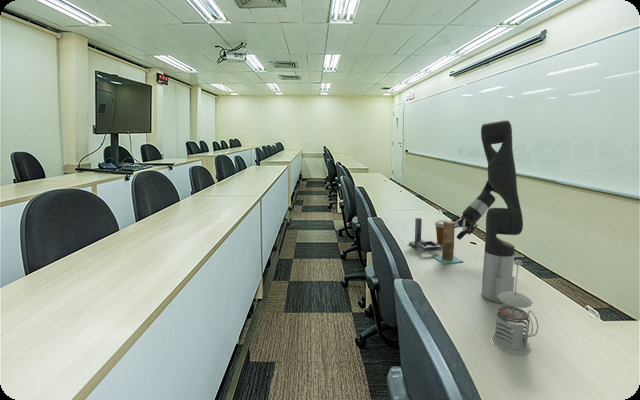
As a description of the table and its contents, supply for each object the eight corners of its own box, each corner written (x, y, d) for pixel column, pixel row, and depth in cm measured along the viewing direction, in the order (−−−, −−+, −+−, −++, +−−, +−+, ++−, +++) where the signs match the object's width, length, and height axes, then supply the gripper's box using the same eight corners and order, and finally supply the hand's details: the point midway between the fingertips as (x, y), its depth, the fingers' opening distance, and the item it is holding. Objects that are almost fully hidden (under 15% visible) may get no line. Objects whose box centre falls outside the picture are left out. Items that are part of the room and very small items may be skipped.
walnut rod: (455, 259, 147) (457, 223, 144) (445, 260, 146) (447, 224, 143) (449, 256, 152) (450, 220, 149) (440, 257, 151) (441, 221, 148)
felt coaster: (462, 262, 145) (463, 261, 145) (443, 264, 144) (443, 263, 144) (450, 254, 155) (450, 254, 155) (432, 256, 153) (432, 255, 153)
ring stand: (440, 254, 156) (442, 225, 153) (424, 256, 154) (425, 226, 151) (422, 243, 174) (423, 216, 171) (407, 244, 172) (408, 217, 169)
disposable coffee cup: (453, 245, 168) (455, 224, 166) (435, 245, 170) (436, 224, 168) (450, 240, 177) (451, 220, 175) (432, 239, 179) (433, 219, 177)
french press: (509, 330, 93) (517, 251, 88) (546, 355, 82) (557, 267, 77) (482, 336, 90) (488, 256, 86) (517, 363, 79) (526, 272, 75)
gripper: (461, 203, 154) (439, 227, 154) (481, 209, 140) (456, 235, 140) (470, 212, 155) (448, 236, 156) (490, 219, 142) (466, 245, 142)
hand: (452, 235), depth 148 cm, fingers open, 8 cm apart
